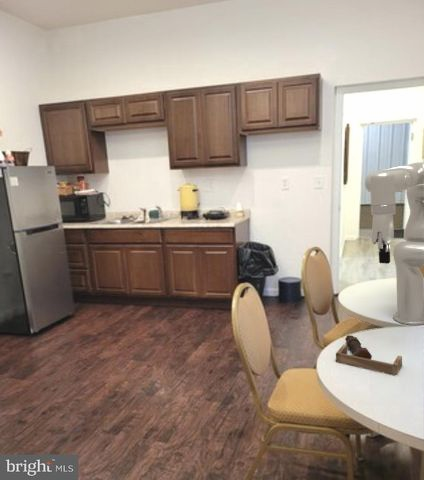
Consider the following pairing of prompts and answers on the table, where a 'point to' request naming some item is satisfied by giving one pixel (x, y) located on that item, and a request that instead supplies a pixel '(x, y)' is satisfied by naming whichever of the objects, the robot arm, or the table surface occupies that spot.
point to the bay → (368, 362)
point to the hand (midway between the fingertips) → (384, 262)
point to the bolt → (357, 347)
